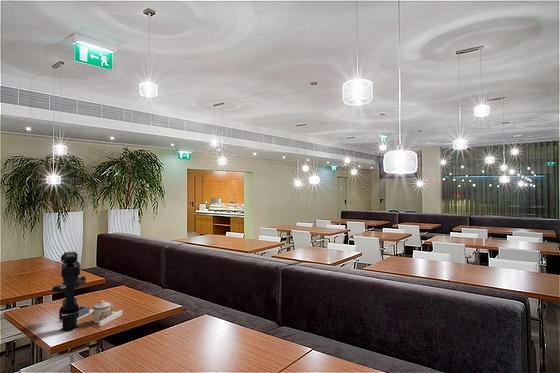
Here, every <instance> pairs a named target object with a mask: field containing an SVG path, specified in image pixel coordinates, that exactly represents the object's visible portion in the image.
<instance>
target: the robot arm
mask: <svg viewBox="0 0 560 373" xmlns="http://www.w3.org/2000/svg"><path fill="white" fill-rule="evenodd" d="M78 258H79V256H78V253H77V251H66V252H63V254H61V256H60V262H61V263H62V264H61V267H60V268H61V274H60V275H61V278H62V282H61V284H58V285H54V286H52V288H51V289H52V290H51V293H52V292H53V293H63V294H64V296H65V298H64V299H62V303H61V304H62V305H61V306H60V308H59V311H58V312H59V313H58V319H59V320H60V321H62V327H61V328H60V329H59V331H65V332H71V331H73V330H75V329H77V328H79V327H80V326H79V325H78V323H77V322H78V320H77V318H76V317H79V309H78V306H79V303H78V300H77V297H75V290H76V289H78V288H80V287H83V286H84V285H85V284H86V282H87V279H86V276H85V275H84V276H80V275H81V263H80V262H79V261H78ZM79 276H80V277H79ZM72 313H76V314H72ZM68 314H70V315H68Z"/></svg>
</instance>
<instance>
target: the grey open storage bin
mask: <svg viewBox="0 0 560 373" xmlns="http://www.w3.org/2000/svg"><path fill="white" fill-rule="evenodd" d="M78 309H79V317H76V318H77V321H79V320H81V319H83V318H85V317H87V316H90V315H91V314H94V309H90V306H85V305H84V306H83V305H78ZM72 314H76V313H72ZM67 315H70V314H67ZM122 315H123V310H118V311H112V313H110V316H109V317H107V318H105V319H103V320H101V321H99V323H98V327H103V326H104V325H106V324H108V323H110V322H112V321H113V320H115V319H117V318H119V317H120V316H122Z"/></svg>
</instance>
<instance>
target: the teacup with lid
mask: <svg viewBox="0 0 560 373" xmlns="http://www.w3.org/2000/svg"><path fill="white" fill-rule="evenodd" d="M92 308H93V310H94V313H93V323H95V324H99V321H101V320H103V319H105V318H107V317H109V316H110V315H111V314H110V313H112V312H114V305H112V304H111V303H110V302H106V301H105V300H100V301H99V302H98V303H96V304H94V305H93V307H92Z"/></svg>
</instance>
